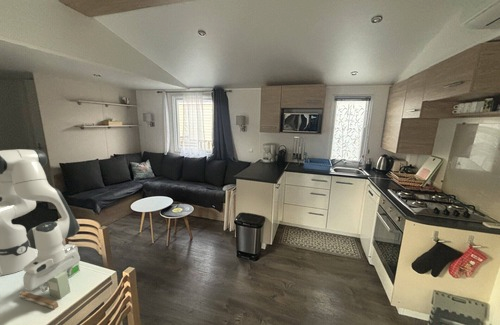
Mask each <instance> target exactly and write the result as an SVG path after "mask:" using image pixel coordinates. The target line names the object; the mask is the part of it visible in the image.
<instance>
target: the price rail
mask: <svg viewBox="0 0 500 325" xmlns="http://www.w3.org/2000/svg"><path fill="white" fill-rule="evenodd" d="M19 297H20V299H23V300H26V301H28V302H30V303H34V304H37V305H40V306H43V307H45V308H48V309H51V310H53V311H54V310H56V309H57V308H58V307H59V304H58V303H59V302H58V301H55V300H52V299H49V298H46V297H44V296H40V295H37V294H34V293H31V292H28V291H26V290H23V291H21V292H19Z"/></svg>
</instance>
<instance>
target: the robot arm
mask: <svg viewBox="0 0 500 325" xmlns="http://www.w3.org/2000/svg"><path fill="white" fill-rule="evenodd" d="M47 163H48V156H47V154H46V153H45V152H44V151H43V150H40V149H35V148H32V149H25V148H23V149H22V148H19V149H17V148H15V149H2V150H0V198H1V201H0V277H2V276H5V275H10V274H15V273H19V272H21V271H24V272H25V273H24V274H23V280H22V281H23V287H24V289H25V290H27V291H34V290H36V289H37V288H39V289H40V291H41V292H43V293H44V292H46V291H47V290H49V287H48V286H47V285H45V283H48V282H47V281H49V280H50V279H52V278H54V277H55V276H57V275H58V274H60V273H62V272H63V271H65V270H67V276H70V275H71V270H72V268H73V265H75V264H77V263H78V262H79V263H80V260H81V256H80V254H79V250H78V249H79V248H78V246H77V245H76V246H72V247H70V248H69V249H66V250H65V249H64V246H65V245H64V243H63V241H64V240H65V239H69V238H72V237H75V236H76V235H77V233H79V231H80V229H81V228H80V224H79V223H80V222H78V220H77V219H76V217H75V215H74V214H73V211H72V210H71V208H70V206H69V204H68V202H67V201H66V199H65V197H64V195H63V194H62V192H61V191H60V190H59V189H58V188H56V187H53V186H52V185H50V183H49V181H48V180H47V175H46V172H45V170H44V168H45V167H46V166H47ZM37 202H48V203H52V204H53V205H54V206H55V207H56V210H57V211H58V213H59V215H60V216H61V219H59V220H55V221H46V222H42V223H39V225H37V226H35V227H32V228H30V229H29V230H28V231H27V229H26V227H25V226H24V225H22V224H14V223H12V220H13V219H17V218H19V217H22V216H24V215H26V214H29V213H30V212H31V211H33V210H35V209H36V207H37ZM36 250H37V252H36Z"/></svg>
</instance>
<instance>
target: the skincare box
mask: <svg viewBox="0 0 500 325" xmlns="http://www.w3.org/2000/svg"><path fill="white" fill-rule="evenodd" d="M72 246H76V247H77V245H75V244H70V243H69V244H68V243H67V244H65V245H64V249H65V250H66V249H69V248H70V247H72ZM80 271H81V268H80V261H79V262H78V263H77V264H75V265H73V268H72V270H71V275H70V276H68V279H70V278H71V277H73V276H74V275H76V274H77V273H79V272H80ZM64 272H67V270H65V271H64Z"/></svg>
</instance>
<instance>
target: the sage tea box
mask: <svg viewBox="0 0 500 325" xmlns="http://www.w3.org/2000/svg"><path fill="white" fill-rule="evenodd" d="M46 283H47V285H48V286H47V287H48V290H49V295H50V296H51V297H54V298H58V299H64V297H66V296H67V295H68V294H70V293H71V286H70V283H69V278H68V276H67V272H64V271H63V272H62V273H60V274H58V275H57V276H55V277H54V278H52V279H50V280H49V281H47V282H46Z"/></svg>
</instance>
